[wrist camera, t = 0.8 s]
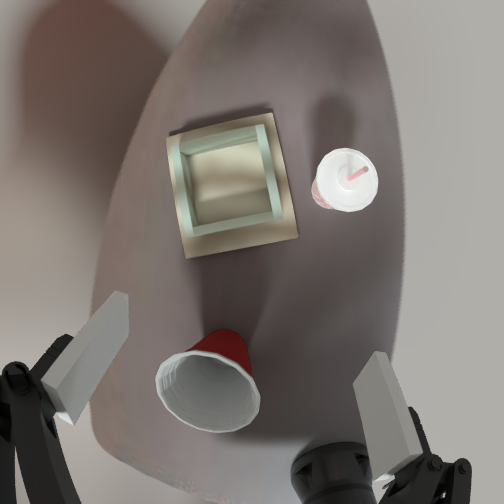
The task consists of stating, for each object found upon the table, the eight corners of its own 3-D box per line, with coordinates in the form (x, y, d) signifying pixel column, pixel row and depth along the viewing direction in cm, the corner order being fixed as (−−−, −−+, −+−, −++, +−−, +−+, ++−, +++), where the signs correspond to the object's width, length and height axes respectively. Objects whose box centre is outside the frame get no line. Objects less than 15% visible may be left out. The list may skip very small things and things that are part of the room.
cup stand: (298, 237, 34) (301, 239, 30) (188, 258, 35) (177, 262, 31) (272, 115, 32) (272, 102, 28) (168, 139, 34) (156, 131, 30)
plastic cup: (172, 351, 36) (136, 395, 25) (215, 295, 35) (188, 328, 23) (233, 394, 36) (219, 450, 25) (281, 344, 35) (284, 395, 23)
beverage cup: (351, 167, 32) (396, 134, 18) (353, 215, 33) (402, 210, 19) (304, 166, 33) (324, 129, 19) (305, 215, 33) (329, 208, 19)
